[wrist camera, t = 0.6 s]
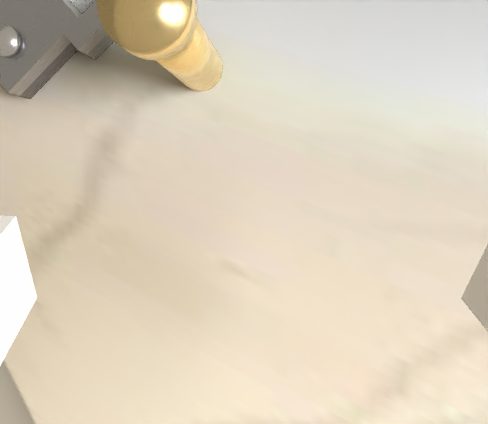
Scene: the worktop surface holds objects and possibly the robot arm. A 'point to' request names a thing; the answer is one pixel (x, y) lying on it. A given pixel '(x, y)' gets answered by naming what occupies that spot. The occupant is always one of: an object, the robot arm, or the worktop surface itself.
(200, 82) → the brass pin
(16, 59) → the grey flange mount bracket
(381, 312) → the worktop surface
